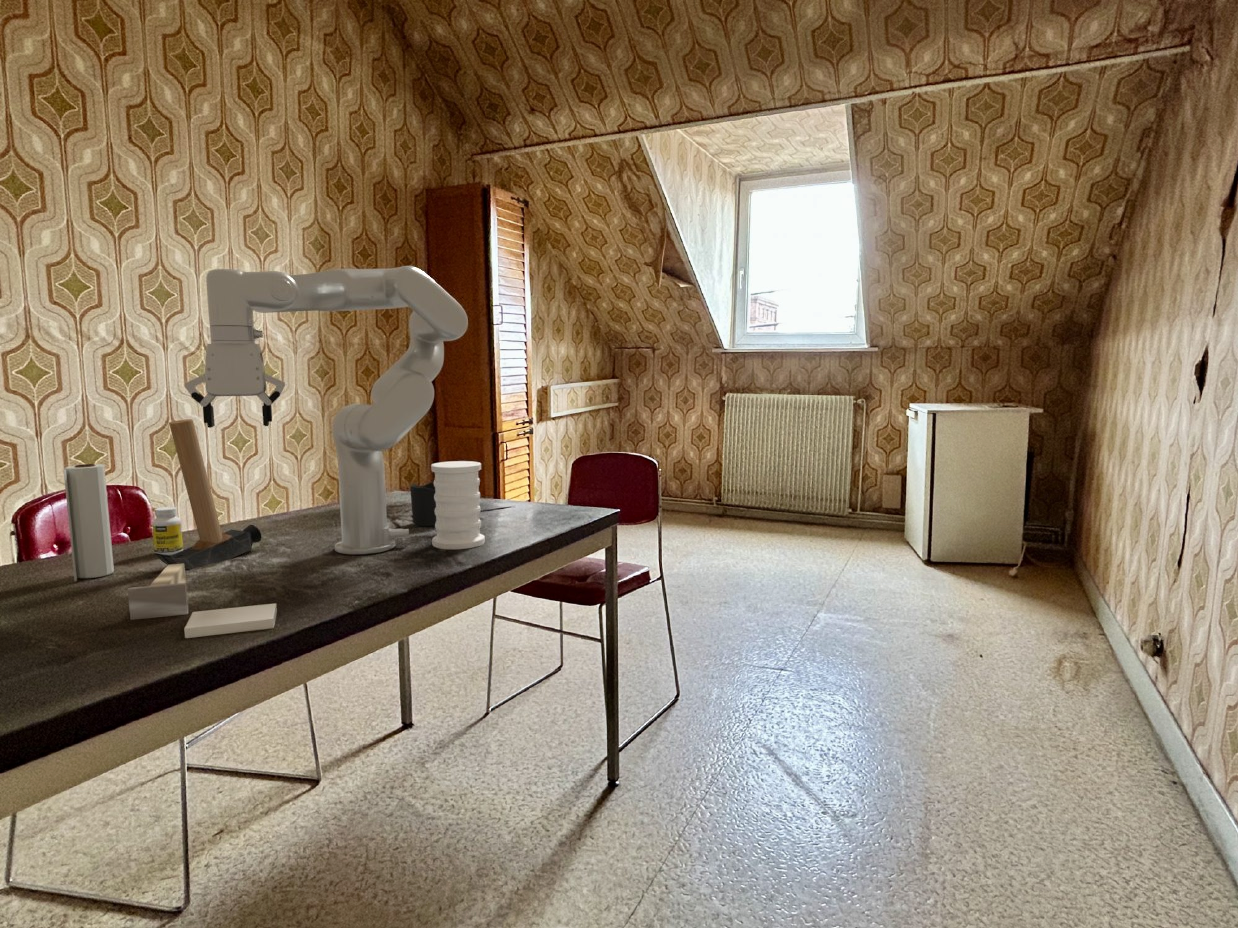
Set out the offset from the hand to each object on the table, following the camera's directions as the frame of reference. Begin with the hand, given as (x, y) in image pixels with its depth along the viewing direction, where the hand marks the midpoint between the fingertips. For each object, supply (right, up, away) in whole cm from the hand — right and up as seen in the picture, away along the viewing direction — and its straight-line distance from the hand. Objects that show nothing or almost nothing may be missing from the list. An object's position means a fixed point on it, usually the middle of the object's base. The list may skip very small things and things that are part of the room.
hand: (239, 426), depth 147 cm
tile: (+12, -31, -25) cm, 42 cm away
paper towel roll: (-28, -29, -1) cm, 40 cm away
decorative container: (+37, -25, +25) cm, 51 cm away
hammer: (-11, -28, +11) cm, 31 cm away
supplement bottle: (-23, -27, +17) cm, 39 cm away
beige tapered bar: (-3, -31, -17) cm, 35 cm away
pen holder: (+26, -23, +46) cm, 57 cm away
